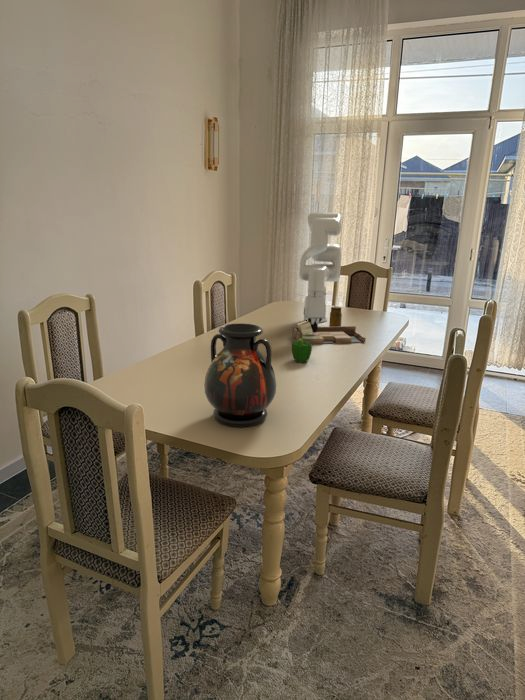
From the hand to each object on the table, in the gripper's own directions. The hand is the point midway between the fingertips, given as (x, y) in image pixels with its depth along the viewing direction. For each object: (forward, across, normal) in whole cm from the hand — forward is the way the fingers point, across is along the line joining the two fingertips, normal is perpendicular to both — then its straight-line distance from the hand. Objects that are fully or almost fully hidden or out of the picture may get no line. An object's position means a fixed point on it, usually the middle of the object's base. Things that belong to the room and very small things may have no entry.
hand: (313, 331), depth 238 cm
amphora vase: (+5, +47, +86) cm, 98 cm away
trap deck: (+4, -8, +2) cm, 9 cm away
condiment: (+4, -16, -16) cm, 23 cm away
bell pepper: (+4, +14, +33) cm, 36 cm away
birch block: (0, +4, 0) cm, 4 cm away
